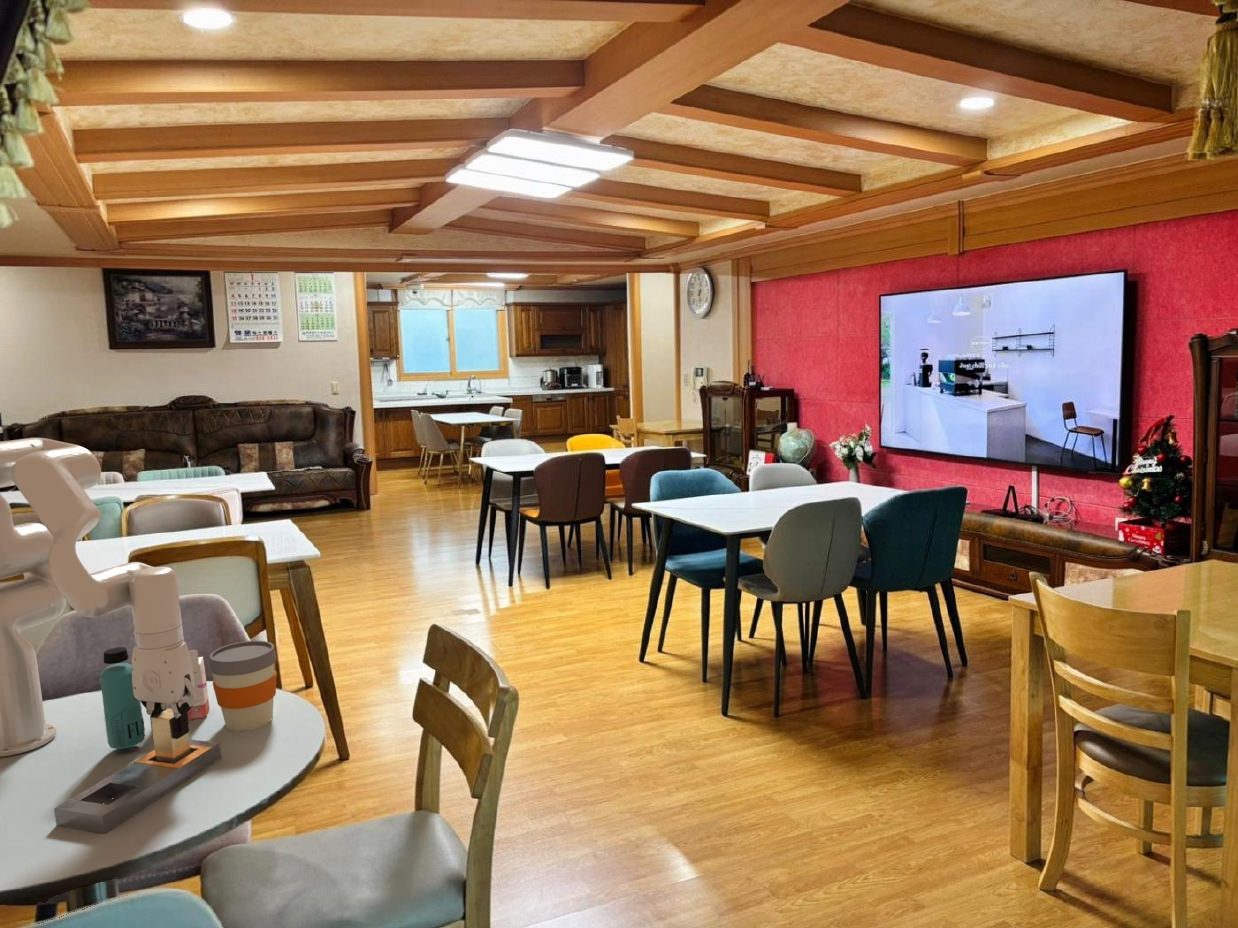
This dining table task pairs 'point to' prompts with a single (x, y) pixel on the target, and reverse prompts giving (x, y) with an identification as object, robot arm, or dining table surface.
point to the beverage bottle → (120, 701)
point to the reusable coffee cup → (245, 683)
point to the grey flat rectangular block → (133, 789)
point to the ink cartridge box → (197, 688)
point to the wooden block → (168, 738)
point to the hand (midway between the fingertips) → (171, 733)
